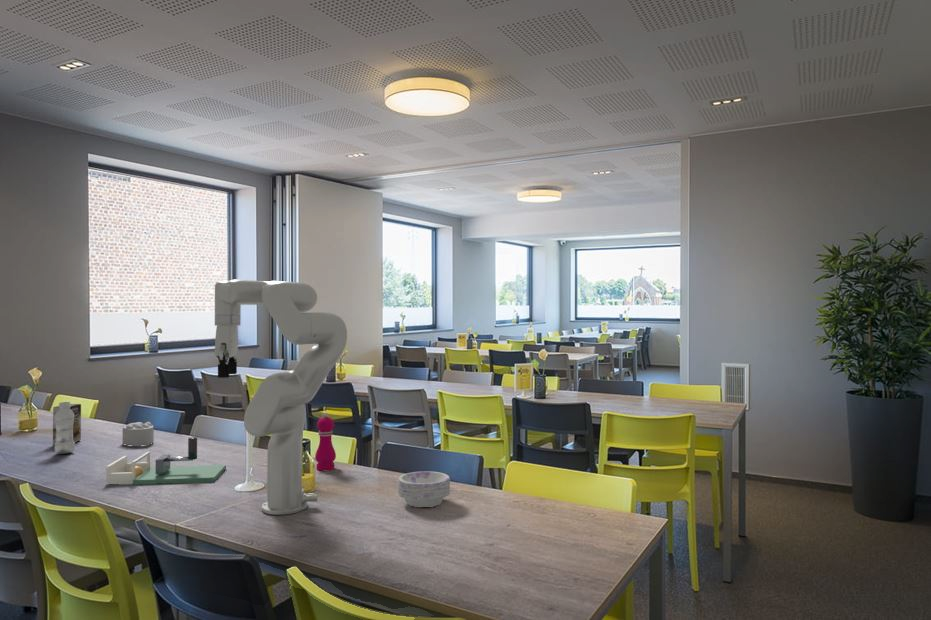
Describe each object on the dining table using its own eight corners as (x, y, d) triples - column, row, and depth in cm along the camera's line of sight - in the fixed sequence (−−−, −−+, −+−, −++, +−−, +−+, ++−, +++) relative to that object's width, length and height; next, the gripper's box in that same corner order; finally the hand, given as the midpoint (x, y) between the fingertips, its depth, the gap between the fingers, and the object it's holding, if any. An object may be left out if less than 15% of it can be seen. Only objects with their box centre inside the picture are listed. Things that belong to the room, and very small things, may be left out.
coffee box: (67, 446, 250) (67, 407, 250) (52, 446, 250) (52, 407, 250) (81, 441, 259) (81, 403, 259) (66, 441, 259) (66, 403, 259)
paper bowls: (426, 492, 189) (426, 467, 189) (460, 503, 178) (460, 476, 178) (387, 503, 179) (387, 476, 179) (421, 516, 168) (421, 487, 168)
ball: (135, 478, 205) (146, 473, 206) (130, 481, 201) (142, 476, 202) (130, 468, 205) (141, 462, 206) (125, 471, 201) (136, 465, 202)
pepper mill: (330, 472, 212) (330, 415, 212) (311, 470, 214) (311, 414, 214) (339, 466, 219) (339, 411, 219) (320, 465, 221) (320, 410, 221)
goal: (150, 472, 211) (150, 451, 211) (134, 483, 197) (134, 461, 197) (124, 473, 210) (124, 452, 209) (106, 484, 196) (106, 462, 196)
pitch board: (225, 469, 215) (225, 464, 215) (213, 481, 200) (213, 477, 200) (151, 471, 212) (151, 467, 212) (132, 484, 196) (132, 480, 196)
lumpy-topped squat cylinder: (144, 439, 263) (144, 419, 263) (159, 443, 256) (159, 423, 256) (119, 443, 255) (119, 423, 255) (134, 448, 247) (134, 427, 247)
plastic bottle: (78, 453, 238) (78, 402, 238) (59, 456, 233) (59, 404, 233) (70, 450, 242) (70, 400, 242) (51, 454, 236) (51, 403, 236)
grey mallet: (199, 467, 210) (200, 435, 210) (193, 473, 203) (193, 440, 203) (162, 468, 208) (162, 436, 208) (155, 474, 201) (155, 441, 201)
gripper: (222, 320, 197) (221, 372, 197) (207, 321, 179) (207, 379, 179) (246, 320, 198) (246, 372, 198) (233, 321, 180) (233, 378, 181)
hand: (227, 375), depth 189 cm, fingers open, 9 cm apart
